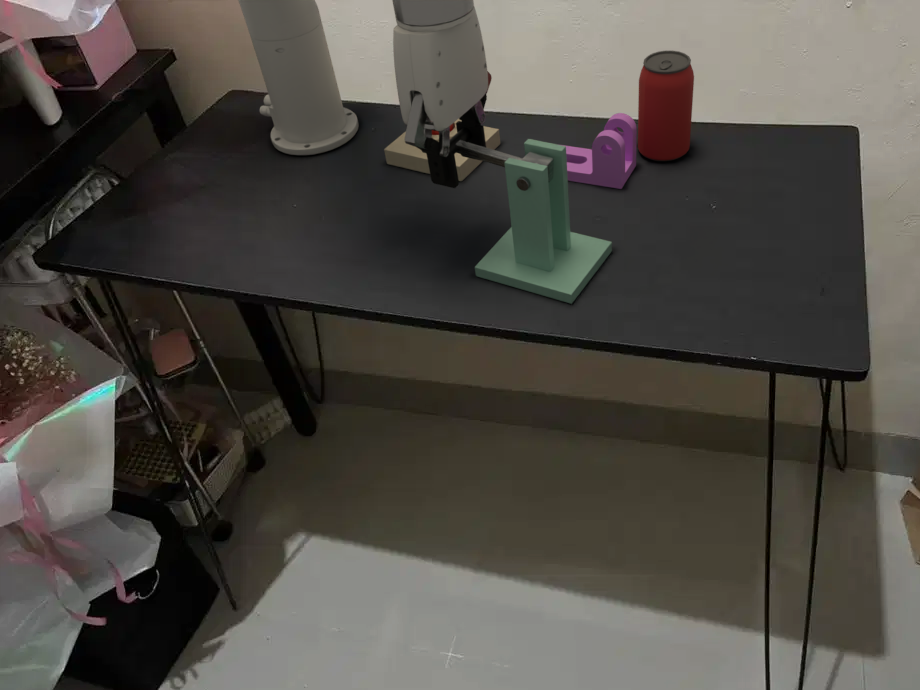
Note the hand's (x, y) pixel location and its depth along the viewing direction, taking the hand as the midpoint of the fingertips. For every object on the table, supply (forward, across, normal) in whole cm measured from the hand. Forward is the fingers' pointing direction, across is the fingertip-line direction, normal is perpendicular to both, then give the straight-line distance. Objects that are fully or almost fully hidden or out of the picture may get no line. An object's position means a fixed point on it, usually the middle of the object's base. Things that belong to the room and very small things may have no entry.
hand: (459, 169), depth 91 cm
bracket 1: (+10, 0, +10) cm, 14 cm away
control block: (+10, -16, -14) cm, 24 cm away
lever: (-1, 0, +5) cm, 5 cm away
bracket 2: (+10, -19, +5) cm, 22 cm away
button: (+6, -16, -14) cm, 22 cm away
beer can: (+10, -27, +13) cm, 31 cm away
